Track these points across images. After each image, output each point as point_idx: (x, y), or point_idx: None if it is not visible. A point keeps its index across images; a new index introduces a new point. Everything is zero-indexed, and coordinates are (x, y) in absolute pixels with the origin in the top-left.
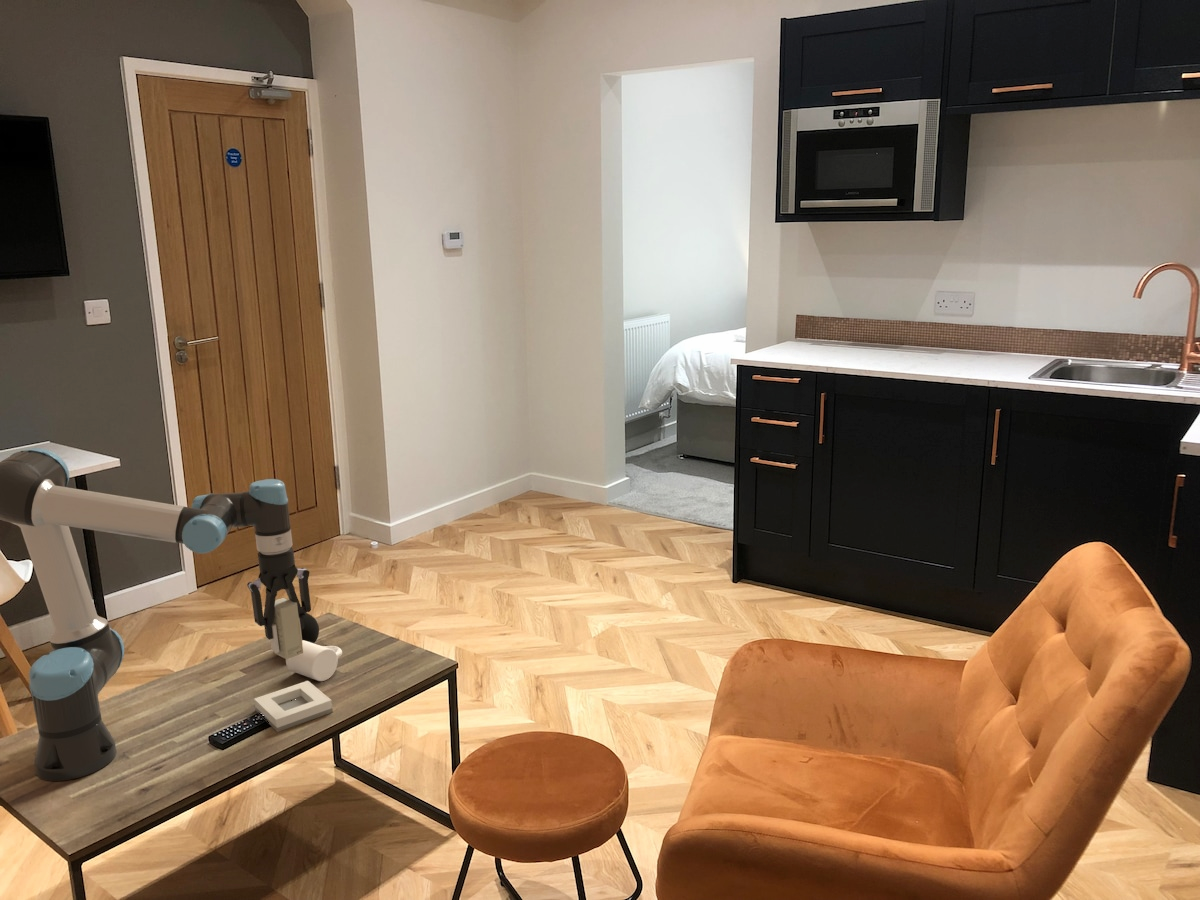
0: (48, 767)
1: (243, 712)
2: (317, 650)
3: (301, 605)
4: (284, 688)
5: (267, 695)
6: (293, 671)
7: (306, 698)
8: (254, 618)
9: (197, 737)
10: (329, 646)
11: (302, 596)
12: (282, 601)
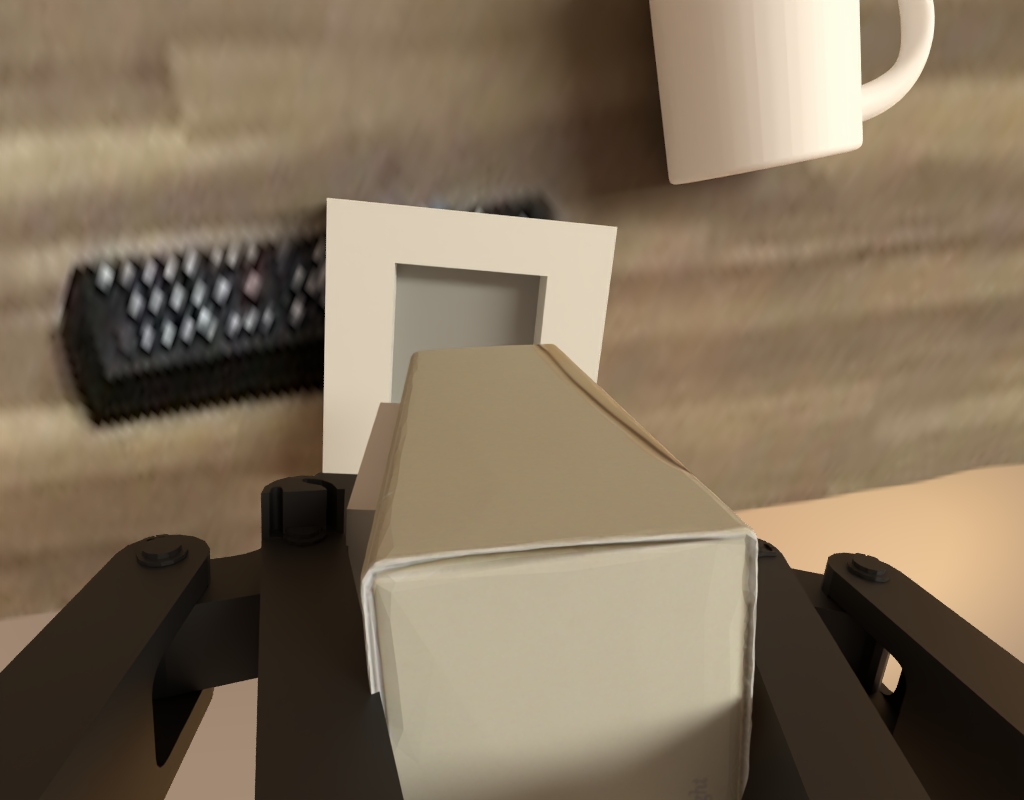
0: None
1: (285, 170)
2: (788, 126)
3: (852, 585)
4: (492, 216)
5: (394, 220)
6: None
7: (535, 341)
8: (93, 582)
9: (21, 237)
10: None
11: (959, 796)
12: (623, 722)
